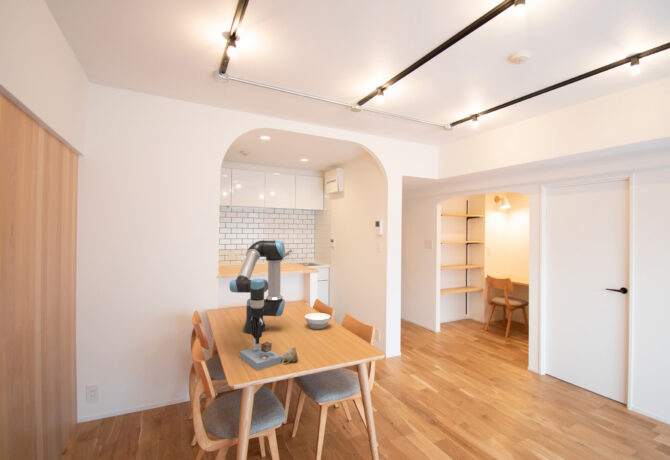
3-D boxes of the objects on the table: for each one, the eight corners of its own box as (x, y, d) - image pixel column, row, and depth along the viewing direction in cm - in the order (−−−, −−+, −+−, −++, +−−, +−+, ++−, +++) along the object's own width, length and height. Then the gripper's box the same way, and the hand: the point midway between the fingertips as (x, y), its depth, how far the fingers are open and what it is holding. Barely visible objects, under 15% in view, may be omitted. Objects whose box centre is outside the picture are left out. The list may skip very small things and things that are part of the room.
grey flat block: (239, 357, 172) (239, 351, 172) (262, 351, 181) (262, 345, 181) (257, 370, 156) (257, 363, 156) (281, 363, 165) (281, 356, 166)
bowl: (335, 326, 233) (335, 315, 233) (320, 333, 217) (320, 321, 217) (314, 321, 244) (314, 311, 244) (299, 328, 227) (299, 316, 227)
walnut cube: (261, 350, 173) (261, 343, 173) (266, 348, 176) (266, 341, 176) (266, 352, 171) (266, 345, 171) (271, 350, 174) (271, 343, 174)
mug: (278, 359, 171) (286, 342, 173) (293, 367, 170) (302, 350, 173) (277, 361, 163) (286, 343, 166) (293, 370, 163) (302, 352, 166)
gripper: (245, 305, 175) (244, 347, 175) (256, 310, 165) (255, 354, 165) (257, 303, 180) (256, 344, 180) (268, 308, 170) (268, 350, 170)
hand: (256, 348), depth 173 cm, fingers closed
